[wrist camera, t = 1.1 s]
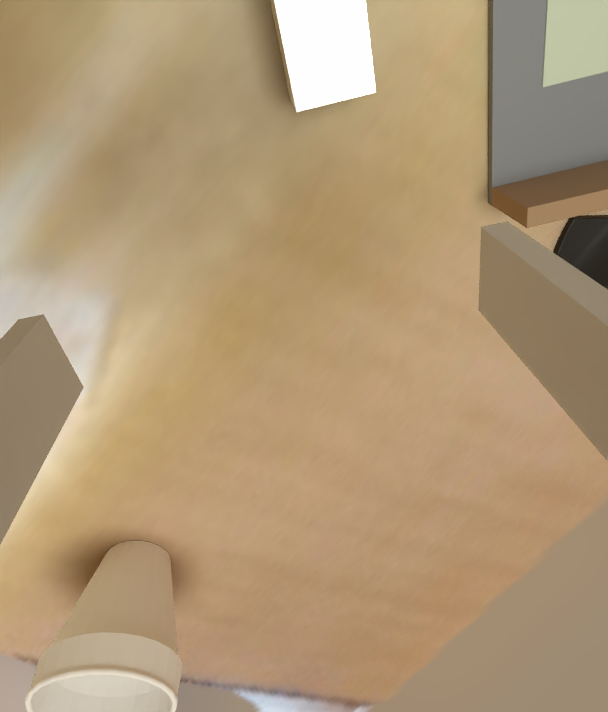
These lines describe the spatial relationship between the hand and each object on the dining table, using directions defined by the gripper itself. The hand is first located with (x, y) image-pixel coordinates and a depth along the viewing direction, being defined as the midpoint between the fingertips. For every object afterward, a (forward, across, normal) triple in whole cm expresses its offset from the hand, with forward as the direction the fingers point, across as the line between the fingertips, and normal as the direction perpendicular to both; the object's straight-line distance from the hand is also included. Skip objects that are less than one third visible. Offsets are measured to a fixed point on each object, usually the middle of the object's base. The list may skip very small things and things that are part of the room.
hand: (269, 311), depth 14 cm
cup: (+19, -22, -36) cm, 47 cm away
